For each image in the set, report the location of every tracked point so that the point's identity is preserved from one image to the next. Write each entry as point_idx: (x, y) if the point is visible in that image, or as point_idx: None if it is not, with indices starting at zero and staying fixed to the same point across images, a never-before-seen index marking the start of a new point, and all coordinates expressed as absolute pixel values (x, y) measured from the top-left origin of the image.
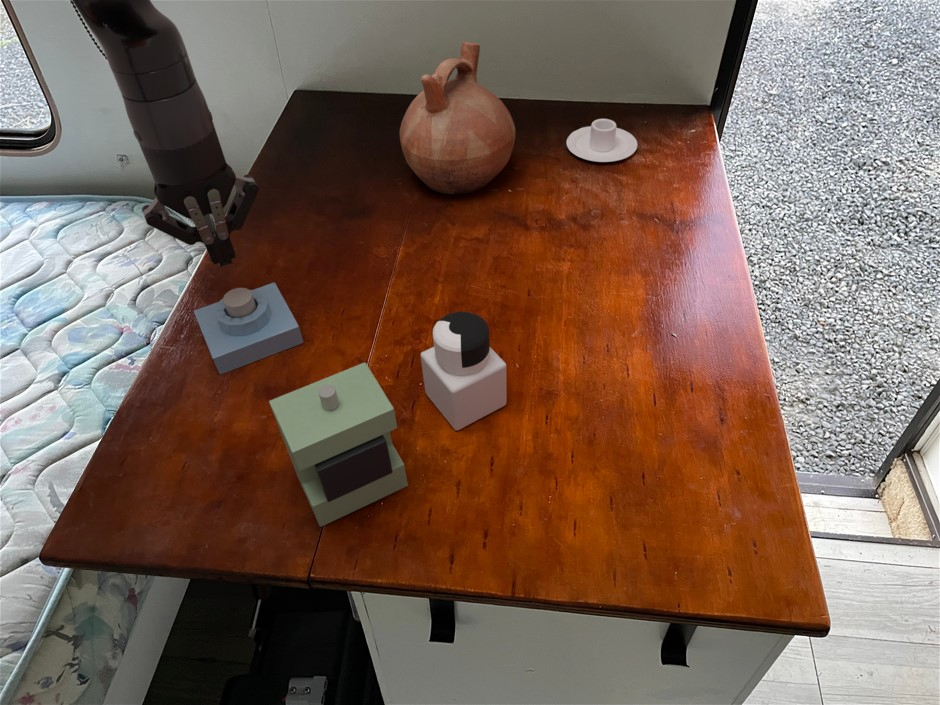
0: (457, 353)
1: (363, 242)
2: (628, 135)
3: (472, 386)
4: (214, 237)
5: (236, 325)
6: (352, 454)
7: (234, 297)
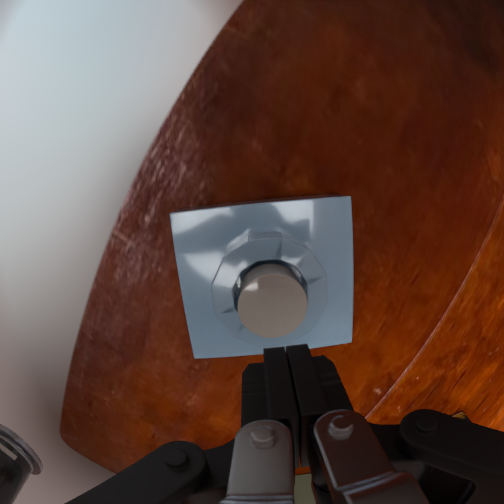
0: None
1: (482, 125)
2: None
3: None
4: (295, 447)
5: (249, 342)
6: None
7: (266, 307)
